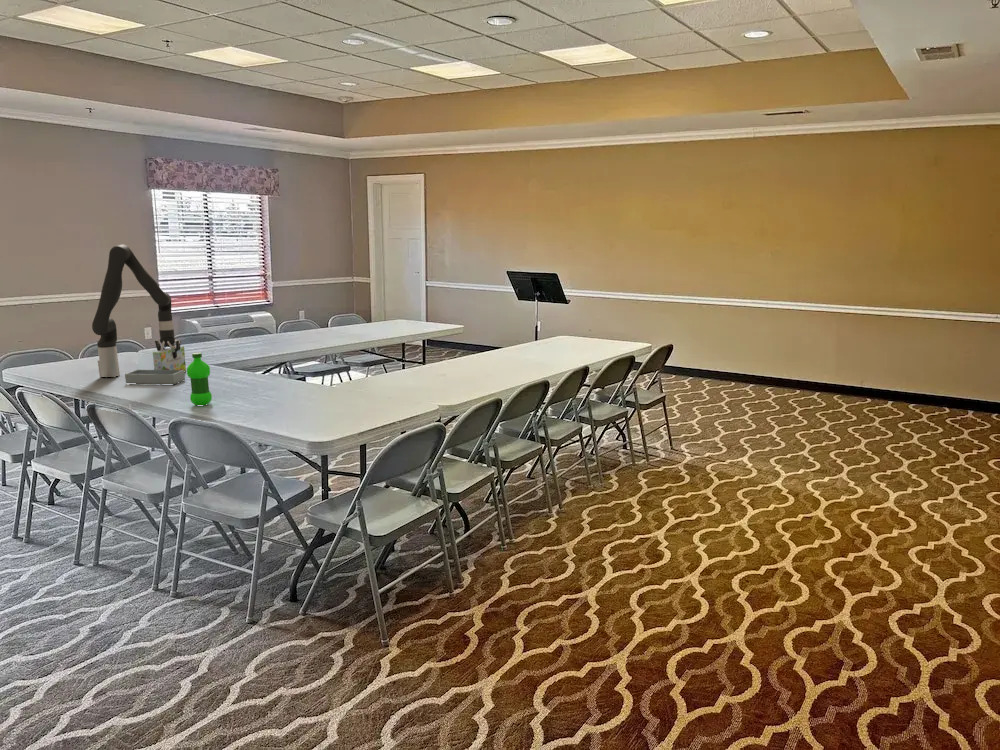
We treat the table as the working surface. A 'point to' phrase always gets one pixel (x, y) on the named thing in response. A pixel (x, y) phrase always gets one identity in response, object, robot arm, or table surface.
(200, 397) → the plastic bottle
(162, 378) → the bin
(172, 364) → the snack box
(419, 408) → the table surface
